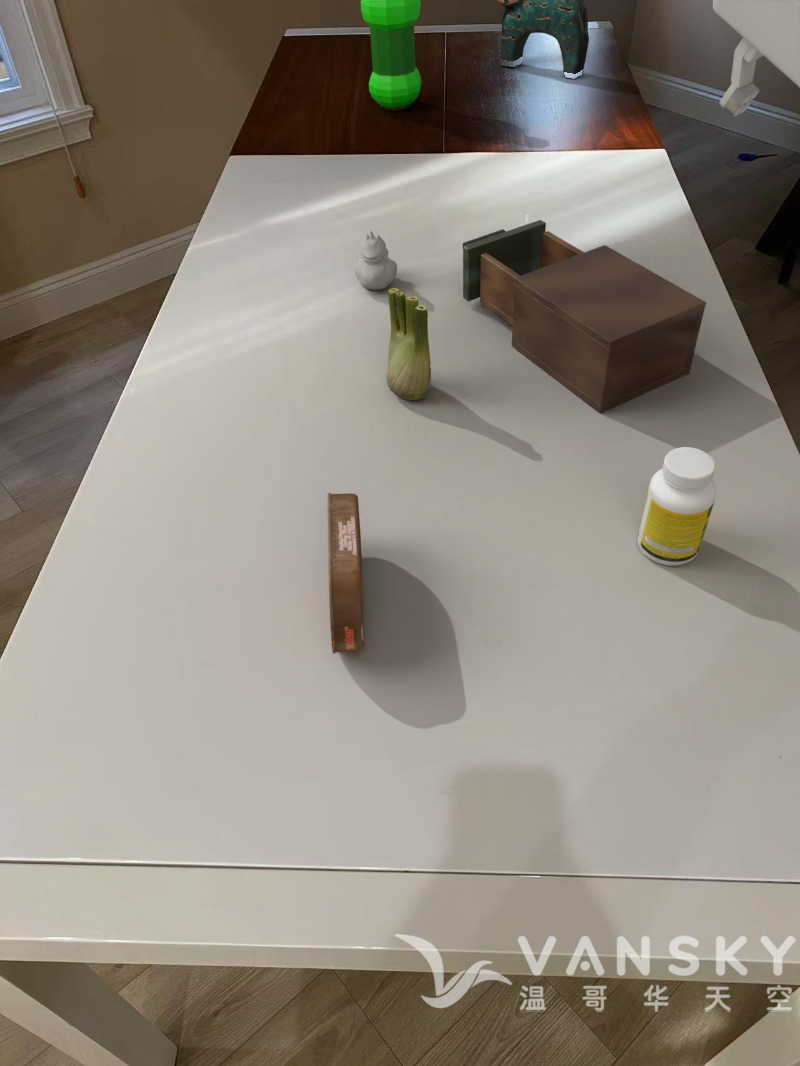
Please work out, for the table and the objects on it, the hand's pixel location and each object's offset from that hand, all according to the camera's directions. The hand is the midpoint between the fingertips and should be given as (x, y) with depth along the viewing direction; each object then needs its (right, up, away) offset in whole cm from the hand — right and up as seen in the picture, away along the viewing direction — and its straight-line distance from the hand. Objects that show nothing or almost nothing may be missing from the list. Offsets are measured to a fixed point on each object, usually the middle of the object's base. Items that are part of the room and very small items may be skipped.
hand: (778, 152), depth 58 cm
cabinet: (-4, -7, +36) cm, 37 cm away
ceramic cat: (+1, +66, +108) cm, 126 cm away
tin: (-31, -33, +13) cm, 47 cm away
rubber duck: (-30, +6, +51) cm, 59 cm away
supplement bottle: (-3, -28, +16) cm, 32 cm away
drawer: (-11, +2, +44) cm, 45 cm away
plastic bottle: (-27, +53, +97) cm, 114 cm away
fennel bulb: (-26, -11, +34) cm, 44 cm away
